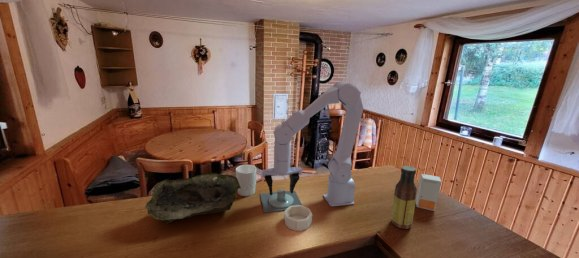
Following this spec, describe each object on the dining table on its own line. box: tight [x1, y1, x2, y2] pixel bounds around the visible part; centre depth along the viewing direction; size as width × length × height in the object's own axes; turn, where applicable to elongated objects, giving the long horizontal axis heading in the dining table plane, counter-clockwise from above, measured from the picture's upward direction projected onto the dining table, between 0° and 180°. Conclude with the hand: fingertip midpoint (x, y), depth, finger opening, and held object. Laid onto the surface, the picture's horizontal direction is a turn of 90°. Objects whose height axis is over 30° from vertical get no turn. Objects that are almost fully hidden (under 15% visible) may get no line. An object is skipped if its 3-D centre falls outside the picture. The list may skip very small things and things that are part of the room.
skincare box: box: [415, 173, 442, 212], centre depth 87 cm, size 6×4×12 cm
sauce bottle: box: [391, 165, 418, 230], centre depth 75 cm, size 6×6×20 cm
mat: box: [259, 190, 303, 214], centre depth 88 cm, size 14×12×1 cm
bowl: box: [283, 204, 313, 232], centre depth 76 cm, size 8×8×4 cm
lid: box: [269, 189, 294, 208], centre depth 87 cm, size 9×9×4 cm
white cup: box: [235, 164, 257, 197], centre depth 93 cm, size 8×8×10 cm
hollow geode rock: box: [144, 172, 241, 225], centre depth 79 cm, size 28×13×15 cm
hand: (281, 192), depth 87 cm, fingers open, 7 cm apart
